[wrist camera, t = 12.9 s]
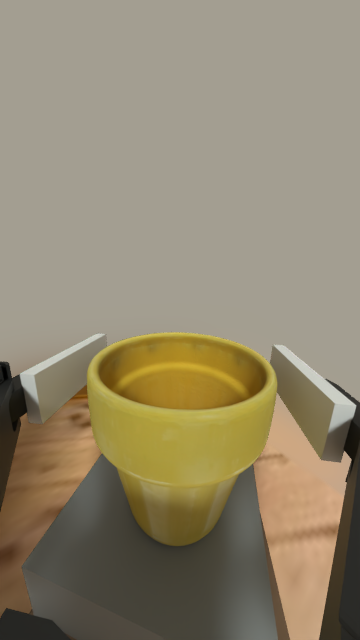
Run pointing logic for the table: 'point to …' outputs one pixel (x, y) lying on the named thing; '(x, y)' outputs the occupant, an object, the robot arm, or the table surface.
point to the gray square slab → (151, 570)
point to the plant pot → (180, 425)
